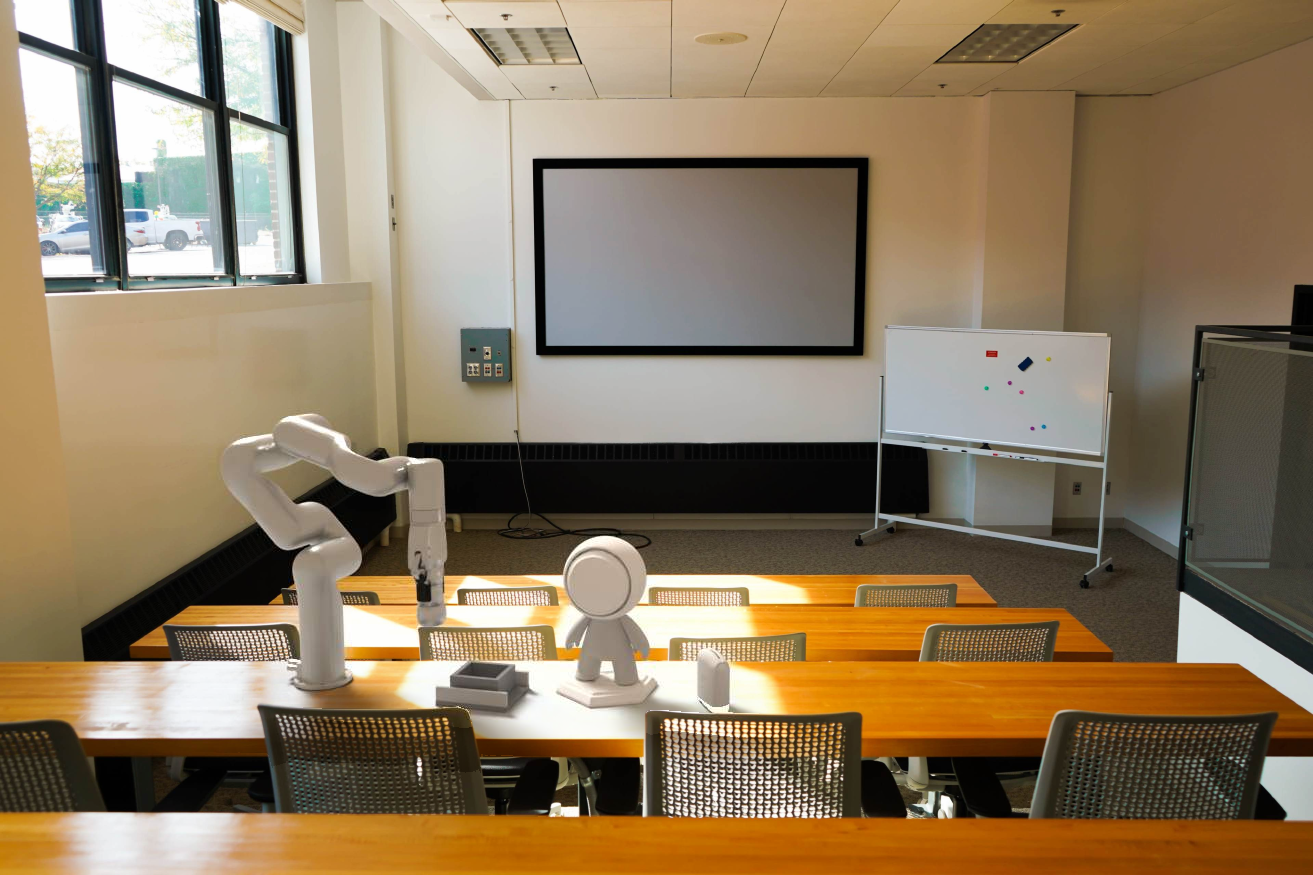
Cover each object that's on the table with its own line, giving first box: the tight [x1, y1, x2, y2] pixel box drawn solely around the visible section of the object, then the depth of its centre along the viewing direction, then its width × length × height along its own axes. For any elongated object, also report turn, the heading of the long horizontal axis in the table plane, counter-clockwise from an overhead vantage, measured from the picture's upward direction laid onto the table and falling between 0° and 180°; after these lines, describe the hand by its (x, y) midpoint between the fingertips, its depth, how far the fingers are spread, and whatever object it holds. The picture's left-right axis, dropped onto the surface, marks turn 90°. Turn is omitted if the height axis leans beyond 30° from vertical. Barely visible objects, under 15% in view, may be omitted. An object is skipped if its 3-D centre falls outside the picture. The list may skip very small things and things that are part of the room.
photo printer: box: [696, 647, 731, 707], centre depth 207 cm, size 10×4×12 cm, turn 20°
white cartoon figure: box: [555, 535, 658, 709], centre depth 215 cm, size 20×23×35 cm
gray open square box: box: [435, 659, 530, 713], centre depth 212 cm, size 16×14×6 cm
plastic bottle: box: [416, 552, 448, 628], centre depth 211 cm, size 6×7×20 cm
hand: (430, 596), depth 212 cm, fingers closed on plastic bottle, 5 cm apart
